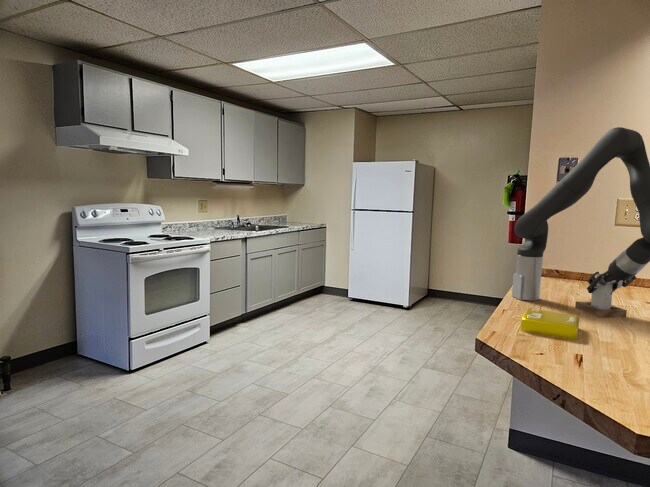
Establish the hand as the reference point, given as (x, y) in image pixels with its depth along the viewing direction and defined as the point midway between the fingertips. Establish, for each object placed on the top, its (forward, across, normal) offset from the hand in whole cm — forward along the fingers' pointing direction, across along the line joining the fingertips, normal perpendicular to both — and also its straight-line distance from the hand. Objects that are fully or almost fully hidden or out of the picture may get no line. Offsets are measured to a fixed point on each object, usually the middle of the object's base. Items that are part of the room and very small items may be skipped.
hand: (598, 291), depth 152 cm
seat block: (+4, 0, +6) cm, 8 cm away
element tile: (-8, +31, +20) cm, 37 cm away
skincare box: (+3, 0, +5) cm, 6 cm away
